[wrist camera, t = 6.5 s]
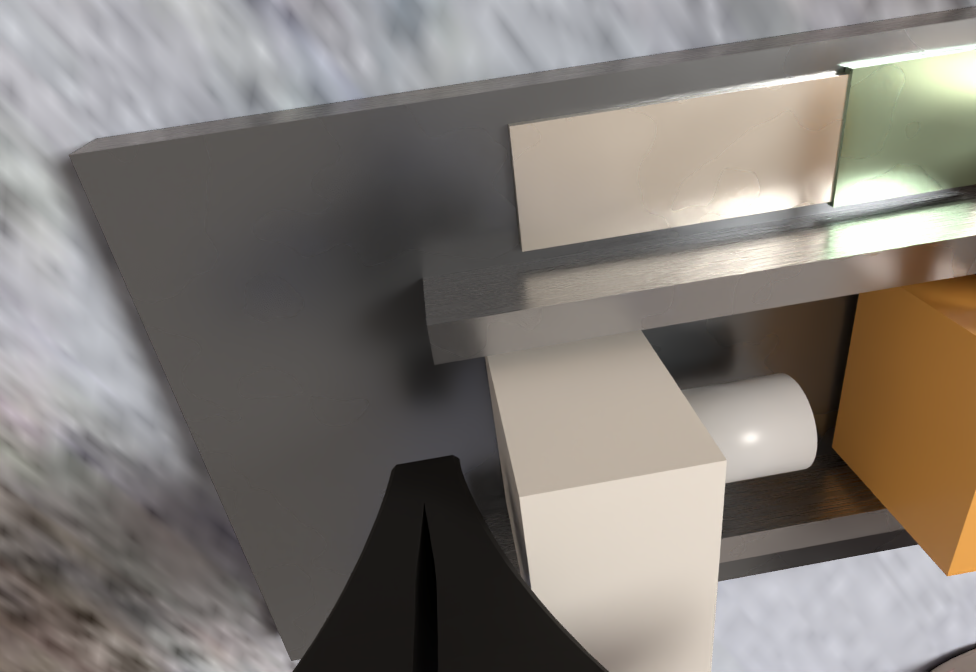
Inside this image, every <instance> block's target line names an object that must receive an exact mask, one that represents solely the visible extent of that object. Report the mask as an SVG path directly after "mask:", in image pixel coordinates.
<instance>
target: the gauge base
mask: <svg viewBox="0 0 976 672" xmlns="http://www.w3.org/2000/svg"><path fill="white" fill-rule="evenodd" d="M69 156H70V159H71V161H72V163H73V165H74V168H75V170H76V172H77V175H78V177H79V179H80V181H81V184H82V186H83V188H84V191H85V193H86V195H87V197H88V200H89V202H90V204H91V206H92V209H93V211H94V213H95V216H96V218H97V220H98V222H99V225H100V227H101V229H102V231H103V234H104V236H105V238H106V241H107V243H108V245H109V247H110V250H111V252H112V254H113V256H114V259H115V261H116V263H117V266H118V268H119V270H120V272H121V275H122V277H123V279H124V281H125V284H126V286H127V288H128V291H129V293H130V295H131V297H132V300H133V302H134V304H135V307H136V309H137V311H138V313H139V316H140V318H141V320H142V322H143V325H144V327H145V329H146V332H147V334H148V336H149V338H150V341H151V343H152V345H153V347H154V350H155V352H156V354H157V357H158V359H159V361H160V363H161V366H162V368H163V370H164V372H165V375H166V377H167V379H168V382H169V384H170V386H171V388H172V391H173V393H174V395H175V397H176V400H177V402H178V404H179V407H180V409H181V411H182V413H183V416H184V418H185V420H186V423H187V425H188V427H189V429H190V432H191V434H192V436H193V438H194V441H195V443H196V445H197V448H198V450H199V452H200V454H201V457H202V459H203V461H204V463H205V466H206V468H207V470H208V473H209V475H210V477H211V479H212V482H213V484H214V486H215V488H216V491H217V493H218V495H219V498H220V500H221V502H222V504H223V507H224V509H225V511H226V513H227V516H228V518H229V520H230V523H231V525H232V527H233V529H234V532H235V534H236V536H237V539H238V541H239V543H240V545H241V548H242V550H243V552H244V554H245V557H246V559H247V561H248V564H249V566H250V568H251V570H252V573H253V575H254V577H255V579H256V582H257V584H258V586H259V589H260V591H261V593H262V595H263V598H264V600H265V602H266V604H267V607H268V609H269V611H270V614H271V616H272V618H273V620H274V623H275V625H276V627H277V629H278V632H279V634H280V636H281V639H282V641H283V643H284V645H285V648H286V650H287V652H288V655H289V657H290V659H291V661H293V660H298V659H302V657H303V656H304V654H305V653H306V651H307V650H308V648H309V647H310V645H311V644H312V642H313V641H314V639H315V638H316V636H317V634H318V633H319V631H320V629H321V628H322V626H323V624H324V623H325V621H326V619H327V618H328V616H329V614H330V613H331V611H332V609H333V607H334V606H335V604H336V602H337V600H338V598H339V597H340V595H341V593H342V591H343V589H344V587H345V585H346V583H347V581H348V579H349V577H350V575H351V573H352V571H353V569H354V567H355V565H356V563H357V561H358V559H359V557H360V555H361V553H362V550H363V548H364V546H365V543H366V541H367V539H368V536H369V534H370V532H371V529H372V527H373V524H374V522H375V520H376V517H377V514H378V512H379V509H380V506H381V503H382V501H383V498H384V495H385V492H386V488H387V485H388V482H389V478H390V474H391V470H392V469H393V468H394V467H395V465H397V464H403V463H409V462H414V461H420V460H426V459H432V458H437V457H443V456H449V455H454V456H456V457H458V458H459V459H460V464H461V469H462V472H463V475H464V478H465V481H466V483H467V486H468V488H469V491H470V493H471V495H472V497H473V499H474V501H475V503H476V505H477V507H478V509H479V511H480V513H481V515H482V517H483V518H484V520H485V522H486V524H487V525H488V527H489V529H490V531H491V532H492V534H493V536H494V537H495V539H496V540H497V542H498V544H499V545H500V547H501V548H502V550H503V551H504V553H505V554H506V556H507V557H508V559H509V560H510V562H511V563H512V564H513V566H514V567H515V569H516V570H517V571H518V573H519V574H520V569H519V564H518V559H517V554H516V549H515V544H514V539H513V534H512V529H511V524H510V519H509V514H508V509H507V504H506V497H505V491H504V484H503V477H502V470H501V463H500V457H499V450H498V443H497V436H496V429H495V423H494V416H493V409H492V402H491V396H490V389H489V382H488V375H487V368H486V362H485V356H490V355H496V354H502V353H508V352H514V351H520V350H526V349H532V348H538V347H544V346H550V345H556V344H561V343H567V342H573V341H579V340H585V339H591V338H597V337H603V336H609V335H615V334H621V333H627V332H633V331H639V330H641V331H642V332H643V334H644V335H645V337H646V338H647V340H648V341H649V343H650V344H651V346H652V347H653V349H654V350H655V352H656V353H657V355H658V357H659V358H660V360H661V361H662V363H663V364H664V366H665V367H666V369H667V370H668V372H669V373H670V375H671V376H672V378H673V379H674V381H675V382H676V384H677V385H678V387H679V388H680V390H685V389H691V388H696V387H702V386H708V385H714V384H719V383H725V382H731V381H737V380H743V379H748V378H754V377H760V376H766V375H772V374H777V373H784V374H787V375H789V376H790V377H792V378H793V379H794V380H795V381H796V382H797V383H798V384H799V386H800V387H801V389H802V390H803V392H804V394H805V395H806V398H807V400H808V402H809V404H810V407H811V410H812V413H813V416H814V420H815V425H816V431H817V452H816V456H815V459H814V461H813V463H812V465H811V466H810V467H808V468H807V469H803V470H797V471H792V472H786V473H780V474H775V475H769V476H764V477H758V478H753V479H747V480H741V481H736V482H730V483H725V493H724V506H723V520H722V533H721V546H720V559H719V572H718V581H724V580H729V579H734V578H740V577H745V576H751V575H756V574H761V573H767V572H772V571H777V570H783V569H788V568H794V567H799V566H804V565H810V564H815V563H821V562H826V561H831V560H837V559H842V558H847V557H853V556H858V555H864V554H869V553H874V552H880V551H885V550H891V549H896V548H901V547H907V546H912V545H917V544H918V543H917V542H916V541H915V540H914V539H913V537H912V536H911V535H910V534H909V533H908V532H907V531H906V530H905V529H904V527H903V526H902V525H901V524H900V523H899V522H898V521H897V520H896V518H895V517H894V516H893V515H892V514H891V513H890V512H889V511H888V510H887V508H886V507H885V506H884V505H883V504H882V503H881V502H880V501H879V499H878V498H877V497H876V496H875V495H874V494H873V493H872V492H871V490H870V489H869V488H868V487H867V486H866V485H865V484H864V483H863V482H862V480H861V479H860V478H859V477H858V476H857V475H856V474H855V473H854V471H853V470H852V469H851V468H850V467H849V466H848V465H847V464H846V462H845V461H844V460H843V459H842V458H841V457H840V456H839V455H838V454H837V452H836V451H835V450H834V449H833V448H832V443H833V438H834V432H835V426H836V421H837V415H838V409H839V404H840V398H841V392H842V387H843V381H844V375H845V370H846V364H847V358H848V353H849V347H850V341H851V336H852V330H853V324H854V319H855V313H856V308H857V302H858V296H859V293H864V292H870V291H876V290H882V289H888V288H894V287H900V286H906V285H912V284H918V283H924V282H930V281H936V280H942V279H948V278H953V277H959V276H965V275H971V274H974V275H976V6H974V7H967V8H961V9H954V10H948V11H941V12H934V13H928V14H921V15H914V16H908V17H901V18H894V19H888V20H881V21H874V22H868V23H861V24H855V25H848V26H841V27H835V28H828V29H821V30H815V31H808V32H801V33H795V34H788V35H781V36H775V37H768V38H762V39H755V40H748V41H742V42H735V43H728V44H722V45H715V46H708V47H702V48H695V49H688V50H682V51H675V52H668V53H662V54H655V55H649V56H642V57H635V58H629V59H622V60H615V61H609V62H602V63H595V64H589V65H582V66H575V67H569V68H562V69H556V70H549V71H542V72H536V73H529V74H522V75H516V76H509V77H502V78H496V79H489V80H482V81H476V82H469V83H463V84H456V85H449V86H443V87H436V88H429V89H423V90H416V91H409V92H403V93H396V94H389V95H383V96H376V97H370V98H363V99H356V100H350V101H343V102H336V103H330V104H323V105H316V106H310V107H303V108H296V109H290V110H283V111H276V112H270V113H263V114H257V115H250V116H243V117H237V118H230V119H223V120H217V121H210V122H203V123H197V124H190V125H183V126H177V127H170V128H164V129H157V130H150V131H144V132H137V133H130V134H124V135H117V136H110V137H104V138H97V139H95V140H93V141H92V142H90V143H88V144H87V145H85V146H83V147H82V148H80V149H78V150H76V151H75V152H73V153H71V154H70V155H69ZM520 575H521V574H520Z"/></svg>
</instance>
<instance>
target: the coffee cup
mask: <svg viewBox="0 0 976 672" xmlns="http://www.w3.org/2000/svg"><path fill="white" fill-rule="evenodd" d="M930 672H976V649H973V650H971V651H968V652H966V653H964V654H961V655H959V656H957V657H955V658H952V659H950V660H949V661H947V662H945V663H943V664H941V665H939V666H938V667H936V668H935V669H933V670H932V671H930Z"/></svg>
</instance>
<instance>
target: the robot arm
mask: <svg viewBox="0 0 976 672" xmlns="http://www.w3.org/2000/svg"><path fill="white" fill-rule="evenodd" d="M293 672H609V671H608V670H607V669H606V668H605V667H603V666H602V665H601V664H600V663H599V662H598V661H597V660H596V659H595V658H594V657H593V656H592V655H591V654H590V653H588V652H587V650H586V649H585V648H584V647H583V646H582V645H581V644H580V643H579V642H578V641H577V640H576V639H575V638H574V637H573V636H572V635H571V634H570V633H569V632H568V631H567V630H566V629H565V628H564V627H563V626H562V625H561V623H560V622H559V621H558V620H557V619H556V618H555V617H554V616H553V615H552V614H551V612H550V611H549V610H548V609H547V608H546V607H545V605H544V604H543V603H542V602H541V601H540V600H539V598H538V597H537V596H536V595H535V593H534V592H533V591H532V590H531V588H530V587H529V586H528V585H527V583H526V582H525V581H524V579H523V578H522V577H521V575H520V574H519V573H518V571H517V570H516V569H515V567H514V566H513V564H512V563H511V562H510V560H509V559H508V557H507V556H506V554H505V553H504V551H503V550H502V548H501V547H500V545H499V544H498V542H497V540H496V539H495V537H494V536H493V534H492V532H491V531H490V529H489V527H488V525H487V524H486V522H485V520H484V518H483V517H482V515H481V513H480V511H479V509H478V507H477V505H476V503H475V501H474V499H473V497H472V495H471V493H470V491H469V488H468V486H467V483H466V481H465V478H464V475H463V472H462V469H461V464H460V459H459V458H458V457H456V456H454V455H449V456H443V457H437V458H432V459H426V460H420V461H414V462H409V463H403V464H397V465H395V467H394V468H393V469H392V470H391V474H390V478H389V482H388V485H387V488H386V492H385V495H384V498H383V501H382V503H381V506H380V509H379V512H378V514H377V517H376V520H375V522H374V524H373V527H372V529H371V532H370V534H369V536H368V539H367V541H366V543H365V546H364V548H363V550H362V553H361V555H360V557H359V559H358V561H357V563H356V565H355V567H354V569H353V571H352V573H351V575H350V577H349V579H348V581H347V583H346V585H345V587H344V589H343V591H342V593H341V595H340V597H339V598H338V600H337V602H336V604H335V606H334V607H333V609H332V611H331V613H330V614H329V616H328V618H327V619H326V621H325V623H324V624H323V626H322V628H321V629H320V631H319V633H318V634H317V636H316V638H315V639H314V641H313V642H312V644H311V645H310V647H309V648H308V650H307V651H306V653H305V654H304V656H303V657H302V659H301V660H300V662H299V663H298V665H297V666H296V668H295V669H294V670H293Z"/></svg>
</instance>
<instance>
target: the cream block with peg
mask: <svg viewBox="0 0 976 672" xmlns="http://www.w3.org/2000/svg"><path fill="white" fill-rule="evenodd" d="M485 362H486V368H487V375H488V382H489V389H490V396H491V402H492V409H493V416H494V423H495V429H496V436H497V443H498V450H499V457H500V463H501V470H502V477H503V484H504V491H505V497H506V504H507V509H508V514H509V519H510V524H511V529H512V534H513V539H514V544H515V549H516V554H517V559H518V564H519V569H520V574H521V577H522V578H523V579H524V581H525V582H526V583H527V585H528V586H529V587H530V588H531V590H532V591H533V592H534V593H535V595H536V596H537V597H538V598H539V600H540V601H541V602H542V603H543V604H544V605H545V607H546V608H547V609H548V610H549V611H550V612H551V614H552V615H553V616H554V617H555V618H556V619H557V620H558V621H559V622H560V623H561V625H562V626H563V627H564V628H565V629H566V630H567V631H568V632H569V633H570V634H571V635H572V636H573V637H574V638H575V639H576V640H577V641H578V642H579V643H580V644H581V645H582V646H583V647H584V648H585V649H586V650H587V652H588V653H590V654H591V655H592V656H593V657H594V658H595V659H596V660H597V661H598V662H599V663H600V664H601V665H602V666H603V667H605V668H606V669H607V670H608V671H609V672H711V664H712V651H713V638H714V625H715V612H716V599H717V585H718V572H719V559H720V546H721V533H722V520H723V506H724V493H725V483H730V482H736V481H741V480H747V479H753V478H758V477H764V476H769V475H775V474H780V473H786V472H792V471H797V470H803V469H807V468H808V467H810V466H811V465H812V463H813V461H814V459H815V456H816V452H817V431H816V425H815V420H814V416H813V413H812V410H811V407H810V404H809V402H808V400H807V398H806V395H805V394H804V392H803V390H802V389H801V387H800V386H799V384H798V383H797V382H796V381H795V380H794V379H793V378H792V377H790V376H789V375H787V374H784V373H777V374H772V375H766V376H760V377H754V378H748V379H743V380H737V381H731V382H725V383H719V384H714V385H708V386H702V387H696V388H691V389H685V390H680V388H679V387H678V385H677V384H676V382H675V381H674V379H673V378H672V376H671V375H670V373H669V372H668V370H667V369H666V367H665V366H664V364H663V363H662V361H661V360H660V358H659V357H658V355H657V353H656V352H655V350H654V349H653V347H652V346H651V344H650V343H649V341H648V340H647V338H646V337H645V335H644V334H643V332H642V331H641V330H639V331H633V332H627V333H621V334H615V335H609V336H603V337H597V338H591V339H585V340H579V341H573V342H567V343H561V344H556V345H550V346H544V347H538V348H532V349H526V350H520V351H514V352H508V353H502V354H496V355H490V356H485Z"/></svg>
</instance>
